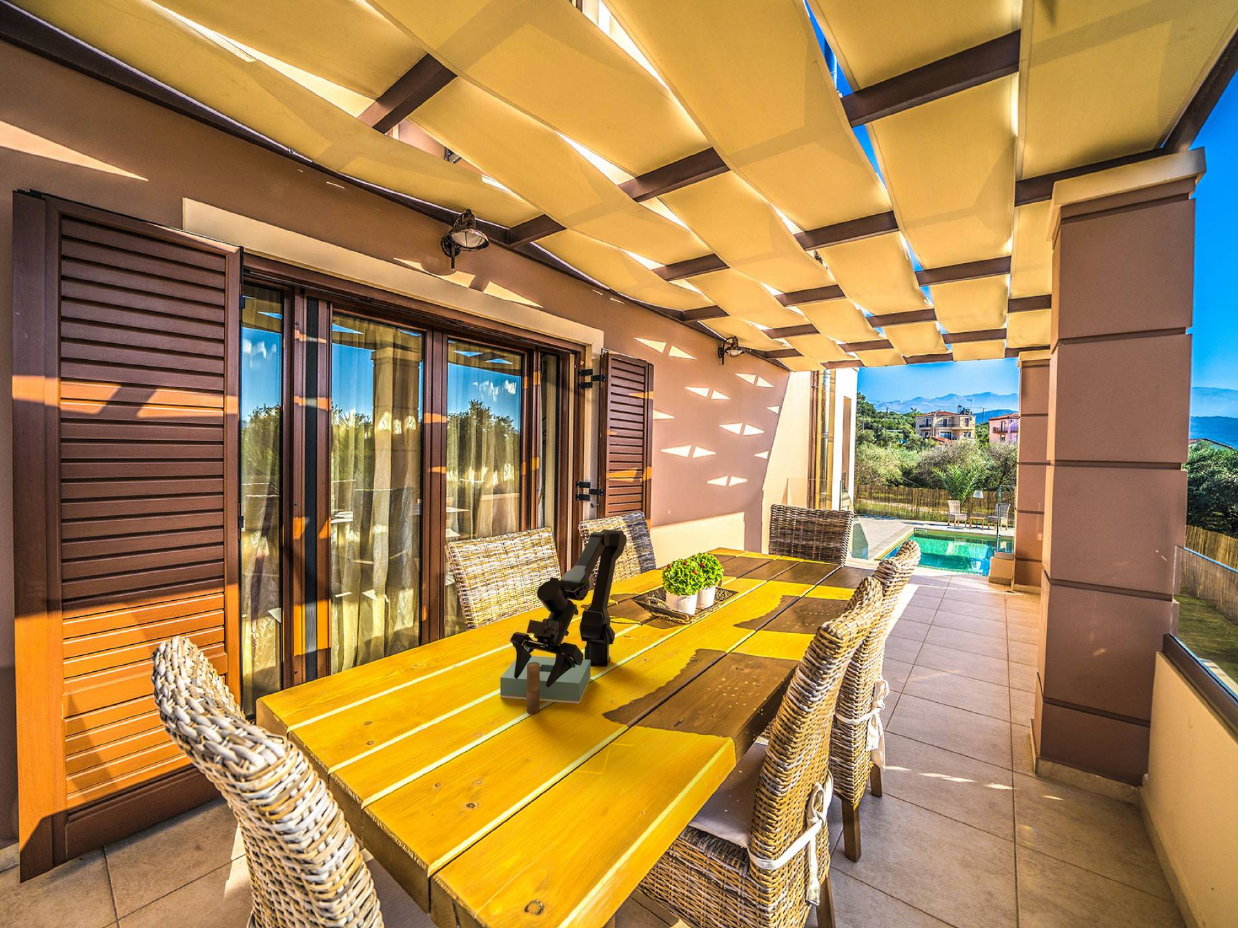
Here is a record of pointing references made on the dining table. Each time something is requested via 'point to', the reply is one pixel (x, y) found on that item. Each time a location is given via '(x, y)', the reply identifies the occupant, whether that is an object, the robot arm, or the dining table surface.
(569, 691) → the board
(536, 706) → the pin
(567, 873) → the dining table surface
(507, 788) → the dining table surface
